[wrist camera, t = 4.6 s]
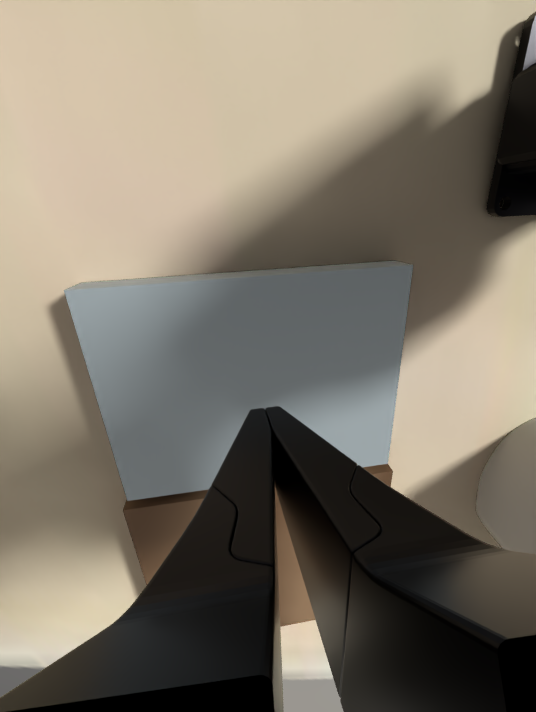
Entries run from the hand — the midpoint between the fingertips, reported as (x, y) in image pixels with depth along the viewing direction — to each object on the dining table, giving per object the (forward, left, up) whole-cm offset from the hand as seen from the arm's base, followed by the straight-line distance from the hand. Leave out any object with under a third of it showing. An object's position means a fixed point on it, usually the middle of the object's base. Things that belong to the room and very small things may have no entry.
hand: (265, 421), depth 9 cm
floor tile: (0, +2, -6) cm, 6 cm away
